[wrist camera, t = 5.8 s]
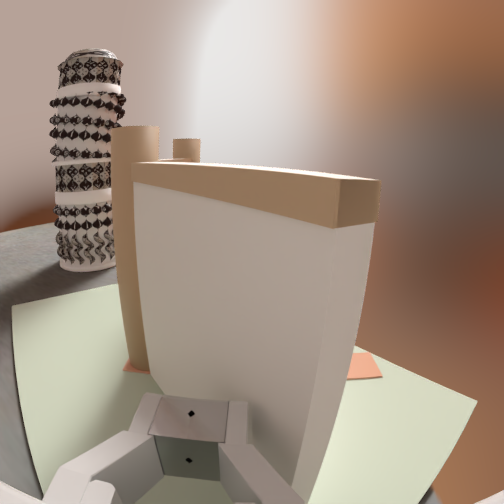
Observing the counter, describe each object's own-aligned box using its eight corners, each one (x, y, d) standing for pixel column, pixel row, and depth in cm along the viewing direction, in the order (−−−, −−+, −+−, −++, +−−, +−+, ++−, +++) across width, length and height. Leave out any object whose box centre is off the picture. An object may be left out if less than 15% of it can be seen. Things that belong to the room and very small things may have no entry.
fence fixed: (177, 279, 32) (176, 140, 28) (201, 280, 32) (202, 139, 28) (126, 375, 17) (103, 128, 13) (164, 380, 17) (150, 124, 13)
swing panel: (148, 374, 16) (131, 162, 13) (171, 367, 17) (160, 161, 14) (278, 526, 8) (336, 178, 5) (308, 506, 9) (381, 180, 6)
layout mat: (12, 309, 22) (11, 304, 22) (198, 269, 35) (198, 265, 35) (167, 683, 1) (164, 684, 1) (474, 406, 14) (478, 399, 14)
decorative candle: (127, 270, 34) (130, 39, 26) (49, 275, 30) (47, 47, 23) (128, 247, 42) (130, 62, 35) (64, 252, 39) (63, 67, 31)
